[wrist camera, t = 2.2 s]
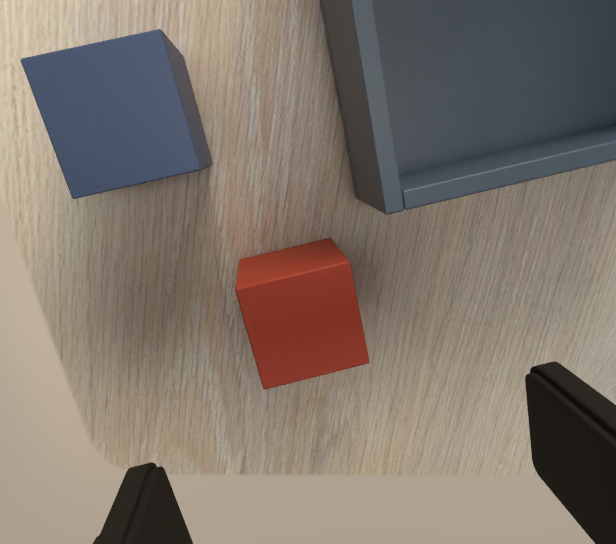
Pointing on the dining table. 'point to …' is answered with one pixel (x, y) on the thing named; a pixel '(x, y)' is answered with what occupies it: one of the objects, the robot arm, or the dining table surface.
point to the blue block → (119, 112)
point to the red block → (301, 312)
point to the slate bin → (470, 93)
